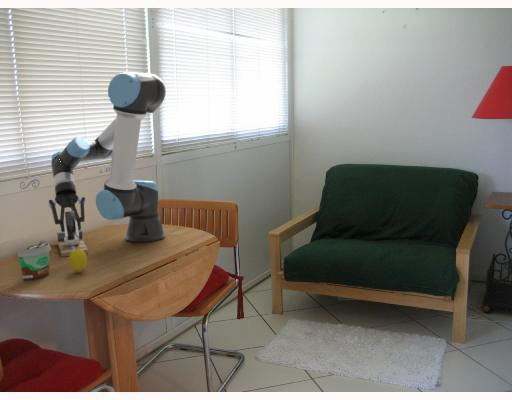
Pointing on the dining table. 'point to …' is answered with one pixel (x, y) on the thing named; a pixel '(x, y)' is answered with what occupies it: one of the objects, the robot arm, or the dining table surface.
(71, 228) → the press handle
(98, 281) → the dining table surface
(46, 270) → the food container
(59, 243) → the press bench
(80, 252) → the lemon
